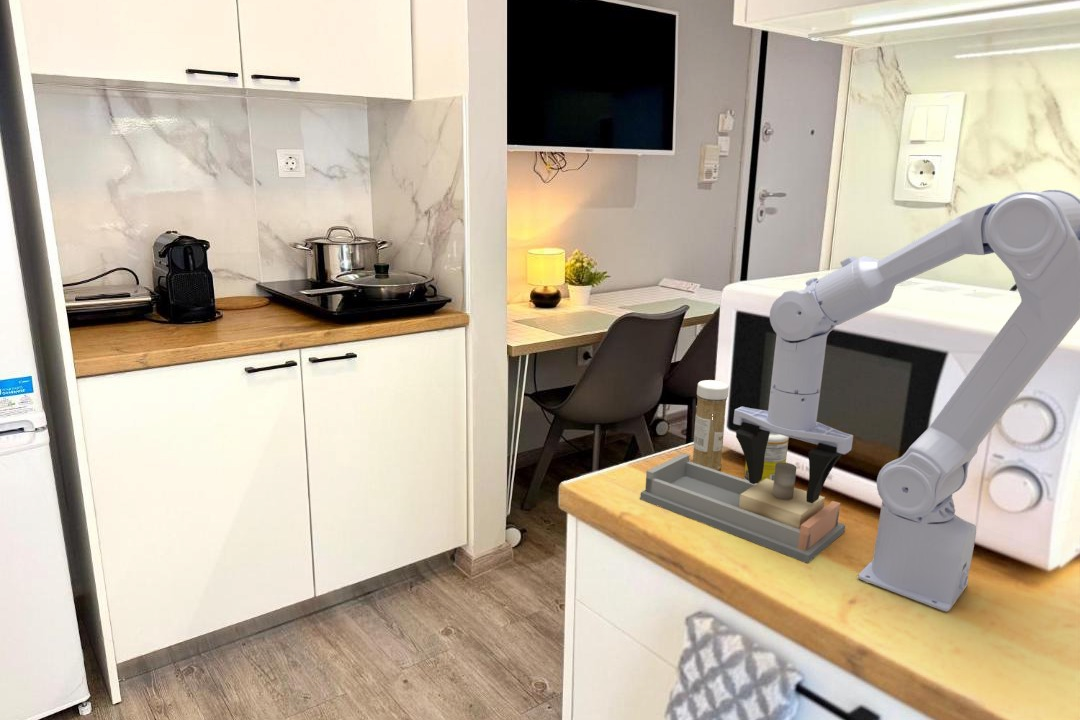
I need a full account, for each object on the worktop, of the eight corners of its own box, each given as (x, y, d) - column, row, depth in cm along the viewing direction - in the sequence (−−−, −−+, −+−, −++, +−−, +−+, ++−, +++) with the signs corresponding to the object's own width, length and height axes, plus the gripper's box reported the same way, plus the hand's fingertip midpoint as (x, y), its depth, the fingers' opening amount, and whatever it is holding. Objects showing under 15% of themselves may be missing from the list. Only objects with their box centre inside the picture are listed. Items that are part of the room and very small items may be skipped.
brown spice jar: (725, 472, 114) (733, 387, 110) (696, 473, 113) (703, 388, 110) (714, 461, 118) (722, 378, 115) (686, 461, 118) (693, 379, 114)
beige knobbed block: (821, 523, 96) (828, 467, 94) (797, 542, 91) (804, 484, 89) (763, 503, 102) (769, 450, 100) (737, 520, 97) (743, 464, 95)
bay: (844, 531, 97) (848, 503, 96) (807, 563, 89) (811, 532, 88) (683, 476, 112) (685, 451, 111) (640, 498, 104) (642, 472, 103)
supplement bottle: (747, 472, 114) (754, 408, 112) (785, 479, 112) (793, 414, 109) (740, 486, 109) (747, 419, 107) (780, 494, 107) (788, 426, 104)
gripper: (868, 394, 90) (853, 498, 93) (756, 369, 99) (746, 465, 103) (845, 407, 85) (829, 517, 88) (729, 379, 94) (719, 480, 98)
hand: (783, 490), depth 95 cm, fingers open, 7 cm apart
